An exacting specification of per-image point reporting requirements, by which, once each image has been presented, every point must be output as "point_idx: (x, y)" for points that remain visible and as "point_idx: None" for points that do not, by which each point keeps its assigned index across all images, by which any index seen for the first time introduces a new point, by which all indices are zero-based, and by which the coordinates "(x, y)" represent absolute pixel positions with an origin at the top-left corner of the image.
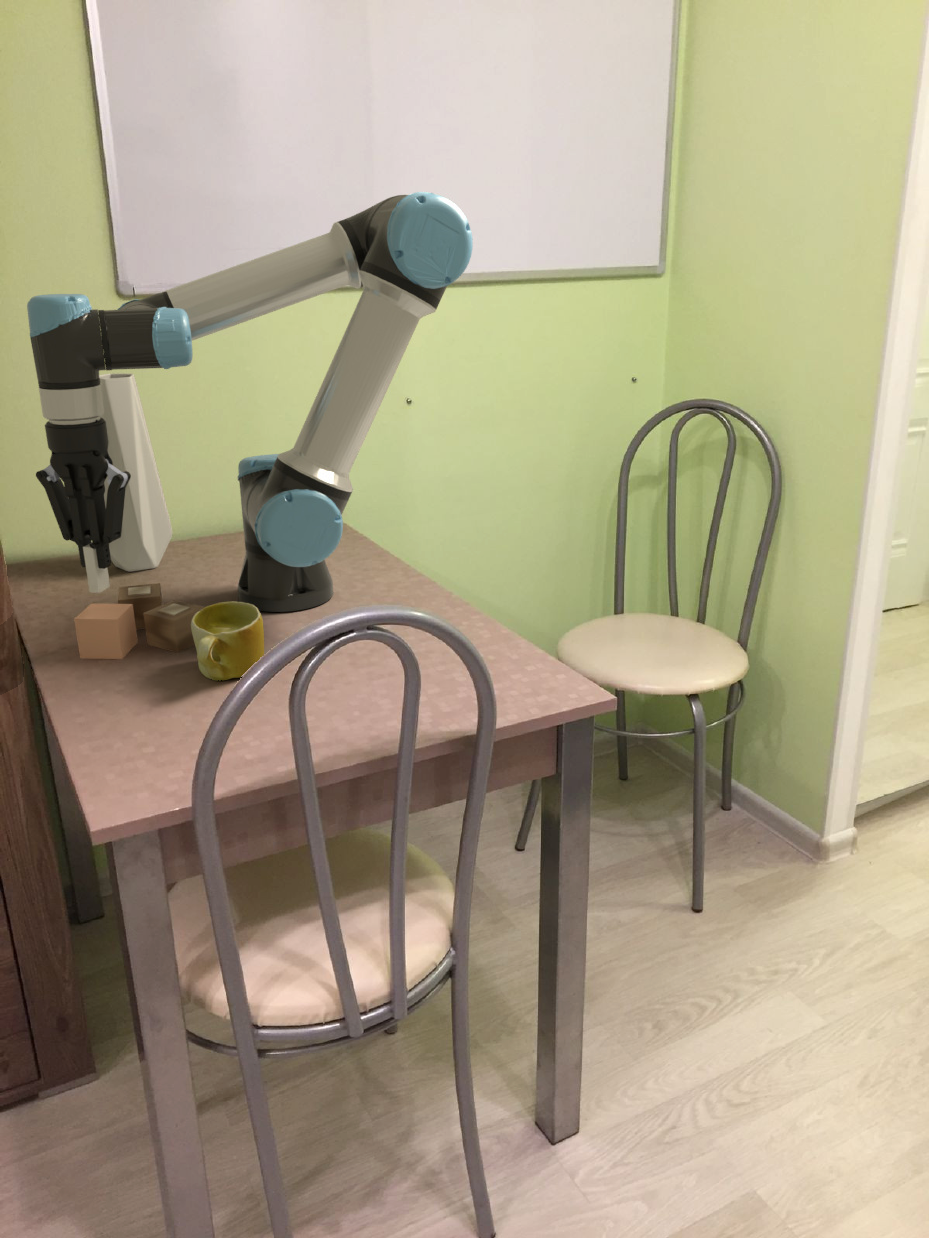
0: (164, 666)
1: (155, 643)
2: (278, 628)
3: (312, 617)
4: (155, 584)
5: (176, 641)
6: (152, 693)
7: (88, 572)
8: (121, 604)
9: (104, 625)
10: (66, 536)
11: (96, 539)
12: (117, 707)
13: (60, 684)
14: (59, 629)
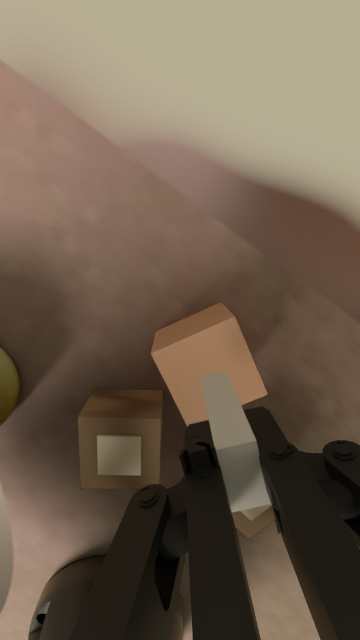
0: (72, 339)
1: (143, 392)
2: (29, 519)
3: (16, 569)
4: (252, 531)
5: (90, 396)
6: (7, 252)
7: (229, 395)
8: (206, 416)
9: (176, 338)
10: (340, 449)
11: (200, 482)
12: (12, 185)
13: (168, 208)
14: (345, 372)
